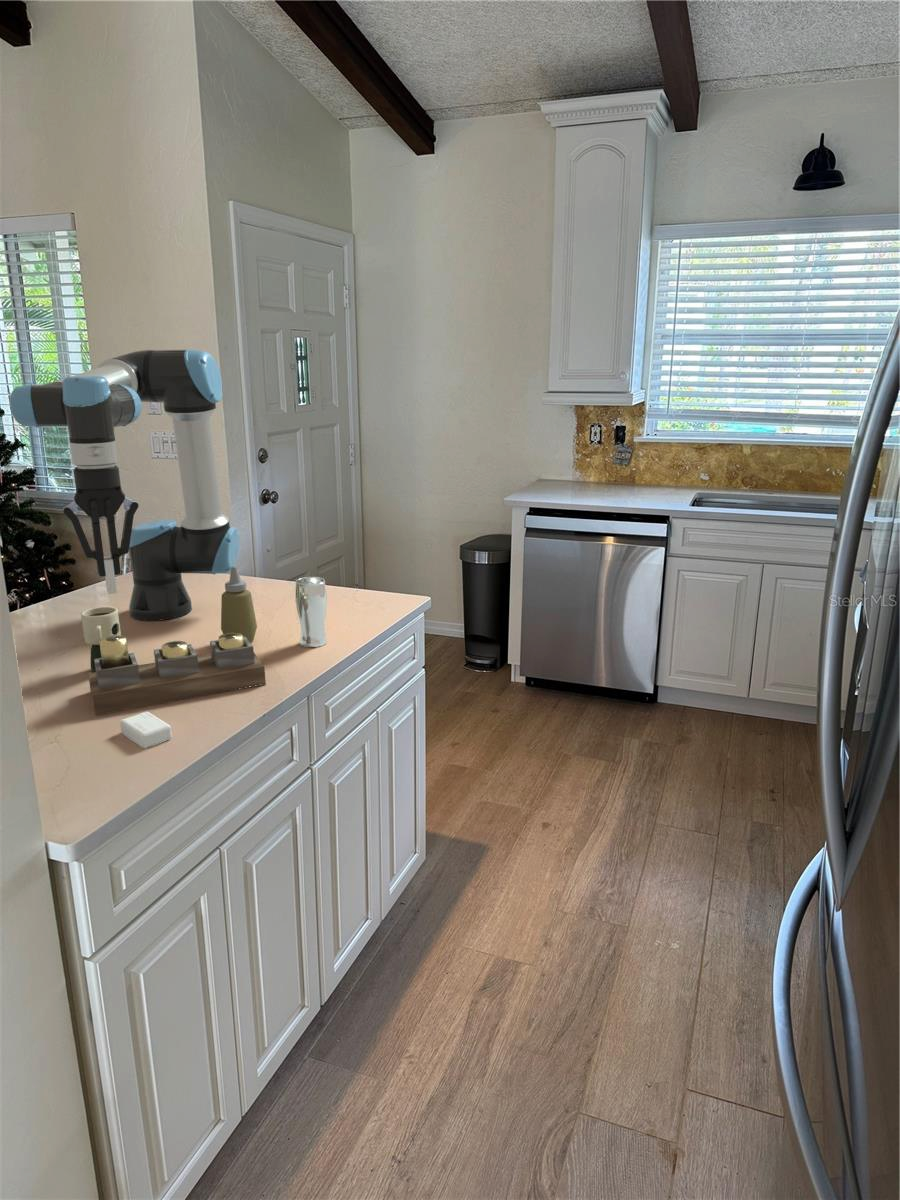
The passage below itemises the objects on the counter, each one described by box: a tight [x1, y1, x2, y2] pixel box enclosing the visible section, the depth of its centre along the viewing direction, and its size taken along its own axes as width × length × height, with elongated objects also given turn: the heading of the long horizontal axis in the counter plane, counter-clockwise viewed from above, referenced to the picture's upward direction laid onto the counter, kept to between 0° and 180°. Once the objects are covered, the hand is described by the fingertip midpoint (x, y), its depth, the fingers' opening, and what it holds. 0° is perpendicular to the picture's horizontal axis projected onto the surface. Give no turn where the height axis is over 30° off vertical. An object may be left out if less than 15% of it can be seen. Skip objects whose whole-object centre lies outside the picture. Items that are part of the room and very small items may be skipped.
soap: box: [119, 711, 173, 749], centre depth 145 cm, size 9×6×3 cm, turn 46°
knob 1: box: [99, 634, 129, 668], centre depth 158 cm, size 5×5×5 cm
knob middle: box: [161, 640, 188, 660], centre depth 163 cm, size 5×5×5 cm
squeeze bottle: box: [220, 566, 258, 644], centre depth 188 cm, size 8×8×18 cm
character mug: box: [80, 606, 122, 672], centre depth 173 cm, size 11×7×13 cm, turn 16°
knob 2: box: [218, 633, 244, 651], centre depth 168 cm, size 5×5×5 cm
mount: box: [87, 636, 267, 716], centre depth 164 cm, size 12×32×8 cm, turn 116°
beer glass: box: [294, 576, 328, 648], centre depth 188 cm, size 7×7×15 cm
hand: (111, 591), depth 154 cm, fingers closed
